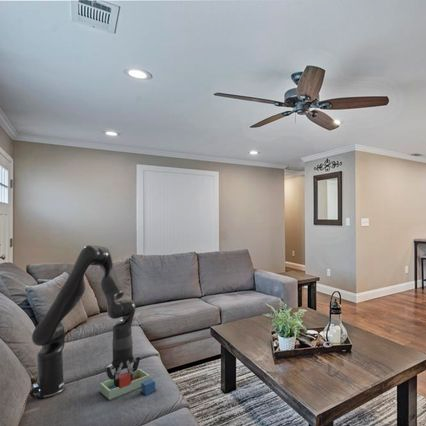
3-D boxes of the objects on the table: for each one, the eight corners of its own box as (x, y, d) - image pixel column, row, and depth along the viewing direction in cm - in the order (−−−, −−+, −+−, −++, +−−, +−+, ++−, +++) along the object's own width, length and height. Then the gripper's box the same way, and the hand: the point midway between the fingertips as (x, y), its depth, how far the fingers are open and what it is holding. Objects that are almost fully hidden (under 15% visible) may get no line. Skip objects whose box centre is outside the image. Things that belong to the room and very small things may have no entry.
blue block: (145, 395, 148) (145, 385, 148) (141, 391, 151) (141, 382, 151) (155, 390, 152) (155, 381, 152) (151, 387, 155) (150, 378, 155)
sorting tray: (109, 400, 145) (109, 391, 145) (100, 391, 152) (99, 383, 152) (149, 383, 159) (149, 375, 159) (139, 376, 166) (139, 368, 166)
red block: (119, 388, 140) (119, 378, 140) (116, 385, 143) (115, 375, 143) (130, 384, 144) (130, 374, 144) (126, 381, 146) (126, 371, 146)
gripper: (136, 338, 151) (137, 375, 151) (101, 349, 140) (101, 388, 140) (143, 342, 146) (144, 380, 147) (107, 353, 135) (108, 394, 135)
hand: (123, 384), depth 143 cm, fingers closed on red block, 4 cm apart
